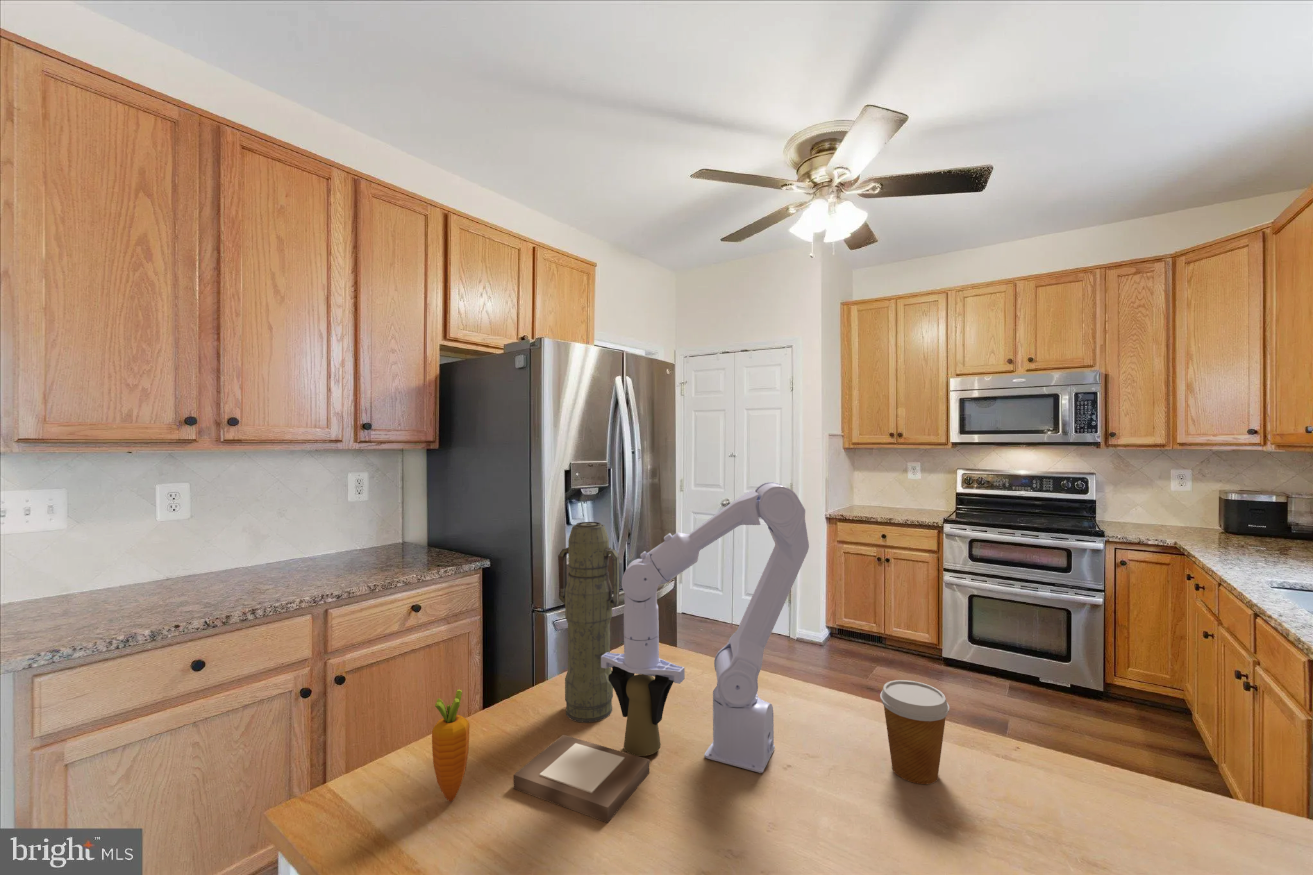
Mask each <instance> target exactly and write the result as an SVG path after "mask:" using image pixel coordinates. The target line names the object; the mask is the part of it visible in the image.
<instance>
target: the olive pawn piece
mask: <svg viewBox="0 0 1313 875" xmlns="http://www.w3.org/2000/svg"><path fill="white" fill-rule="evenodd" d="M654 679H655V677H654V676H649V675H644V674H634V676H632V677H630V678H629V680H628V681H627V684H626V693H627V696H628V698H629V706H628V715H627V717H626V724H625V725H626V726H625V734H624V742H623V748H624V750H625V752H626V753H628V754H632V755H635V756H639V757H645V756H651V755H653V754H655V753H656V752H658V751H659V750H660V748H661V745H662V744H661V738H660V737H661V736H660V730H659V723H658V724H657V725H654V724H653V723H652V702H651V696H650V691H649V688H648V684H649V683H650V682H651V681H652V680H654Z"/></svg>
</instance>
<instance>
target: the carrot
mask: <svg viewBox="0 0 1313 875" xmlns="http://www.w3.org/2000/svg"><path fill="white" fill-rule="evenodd" d="M462 694H463V691H462V690H461V689H457V690H456V692H455V696H454V699H453V701H452V703H451V704H447V705H445V703H444V701H443V700H442V699H441V698H437V699H436V702H435V704H434V707H435V708H436V710H438V712H439V713H440V715H441V716H442V718H440V719H438V720H437V722H436V723H435V725H434V726H433V729H432V731H431V743H432V744H431V745H432V746H431V748H432V749H431V751H432V761H433V762H432V764H433V767H434V768H433V769H434V773H435V776H436V777H435V778H436V783H437V785H438V787H439V789H440V791H441V793H442V795H443V796H444V798H445V799H446V800H447V801H448V802H453V801H454V800H455V799H456V798H457V797H456V796H457V795H458V792H459V791H460V789H461V786H462V782H463V779H464V777H465V773H466V769H467V764H468V758H469V749H470V748H469V747H470V722H469V720H468V719H467V718H466V717H464V716H462V715H461V714H458V710H459V708H460V706H461V700H462Z"/></svg>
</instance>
